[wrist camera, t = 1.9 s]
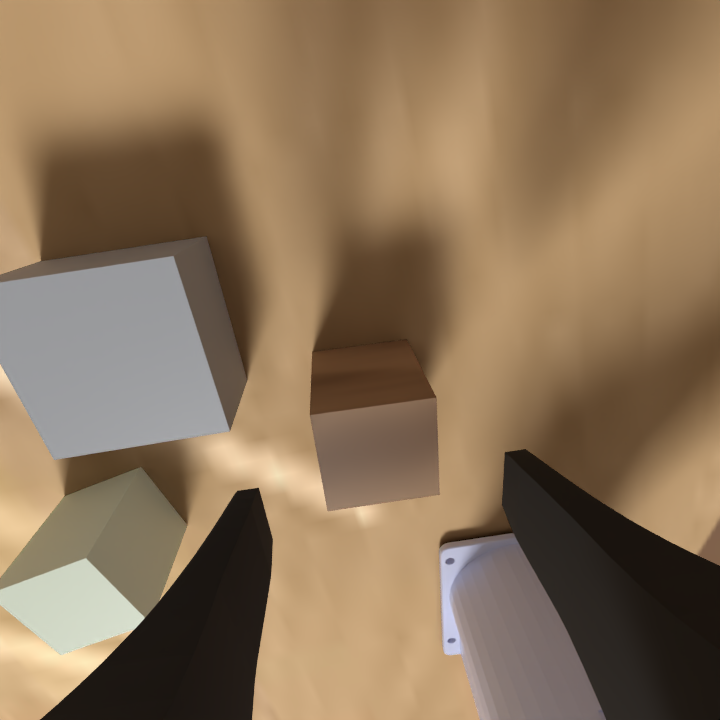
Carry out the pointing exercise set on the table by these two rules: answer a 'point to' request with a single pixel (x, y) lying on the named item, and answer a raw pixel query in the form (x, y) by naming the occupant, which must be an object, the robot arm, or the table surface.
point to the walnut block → (373, 425)
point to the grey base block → (121, 347)
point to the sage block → (95, 563)
